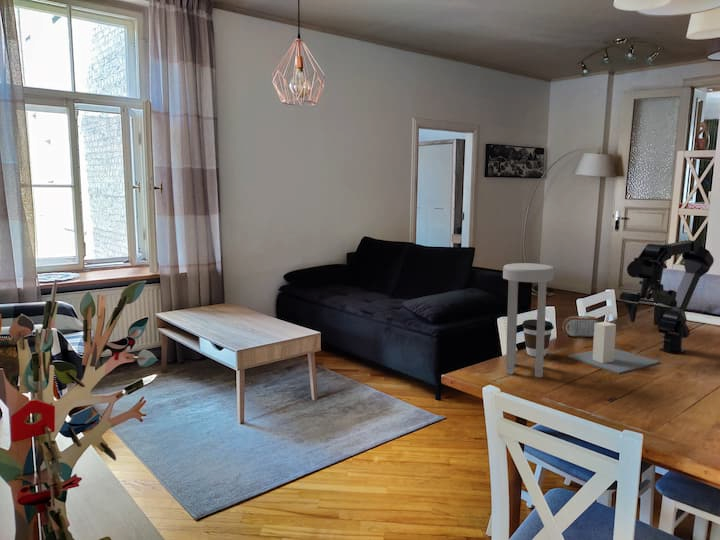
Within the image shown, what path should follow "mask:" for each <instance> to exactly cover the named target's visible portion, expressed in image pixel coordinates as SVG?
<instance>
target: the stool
mask: <svg viewBox="0 0 720 540" xmlns="http://www.w3.org/2000/svg"><path fill="white" fill-rule="evenodd" d="M554 268H555V267H553V266H552V265H548V264H544V263H543V264H542V263H541V264H540V263H534V262H532V263H528V262H527V263H526V262H525V263H523V262H522V263H521V262H518V263H508V264H504V266H503V268H502V278H503V280H507V281H508V287H507V288H508V289H507V318H506V319H507V323H506V324H507V325H506V352H505V353H506V355H505V356H506V357H505V374H506V375H512V374H513V375H514V374H515V373H514V370H515V366H516V359H517V327H518V325H517V324H518V302H519V301H518V300H519V299H518V297H519V296H518V295H519V283H520V282H521V283H538V287H537V310H536V311H537V313H536V315H537V316H536V320H537V334H536V357H535V359H534V361H535V365H534V366H535V367H534V377H535V378H541V377H542V378H543V375H544V374H543V373H544V371H543V370H544V357H545V356H544V334H545V321H546V308H547V307H546V305H547V303H546V302H547V301H546V300H547V282H551V281H554V276H555V275H554V273H555V269H554Z"/></svg>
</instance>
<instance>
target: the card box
mask: <svg viewBox="0 0 720 540" xmlns="http://www.w3.org/2000/svg"><path fill="white" fill-rule="evenodd" d="M616 333H617V324H615V323H612V322H608V321H600V322H599V323H595V324H594V337H593V343H592V344H593V346H592V350H593V360H596V361H598V362H601V363H607V362H613V361H614V351H615V349H616V347H615V346H616V335H617V334H616Z"/></svg>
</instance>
